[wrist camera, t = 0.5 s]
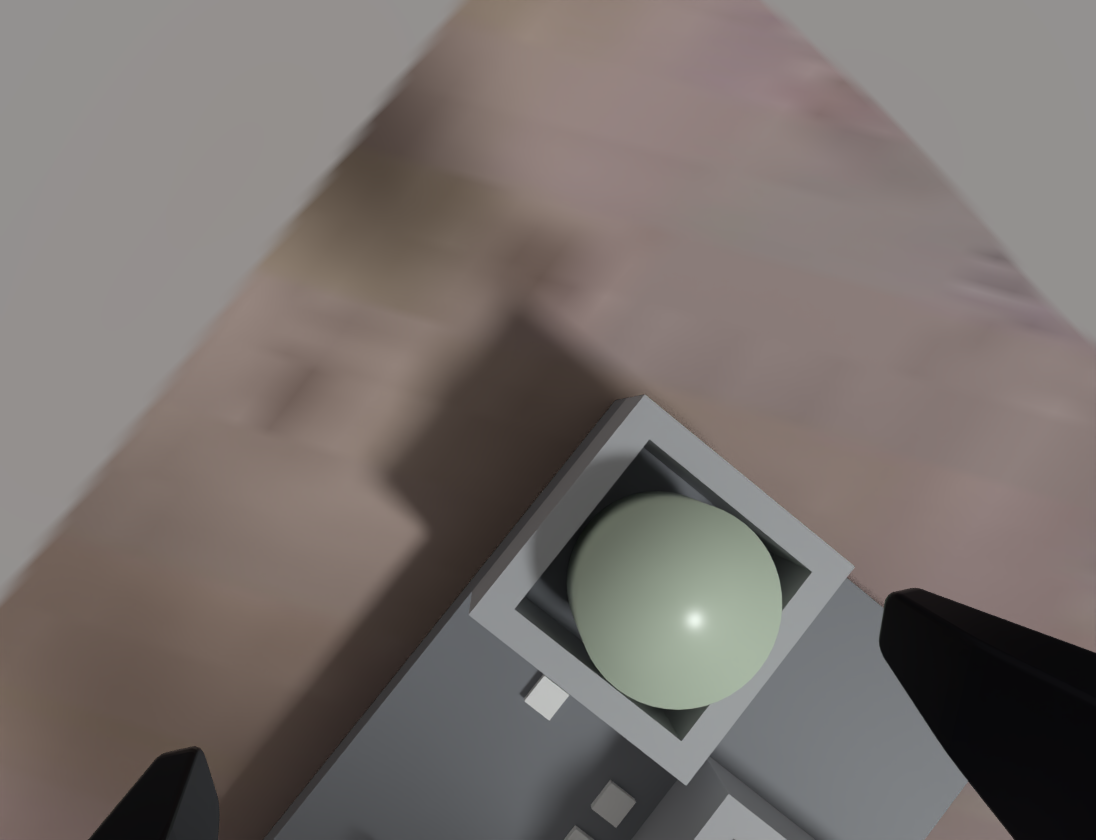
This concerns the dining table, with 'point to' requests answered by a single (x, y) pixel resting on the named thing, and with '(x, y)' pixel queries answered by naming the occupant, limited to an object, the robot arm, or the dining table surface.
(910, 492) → the dining table surface
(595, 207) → the dining table surface
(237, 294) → the dining table surface
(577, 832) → the button panel
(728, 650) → the sage button
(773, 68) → the dining table surface
